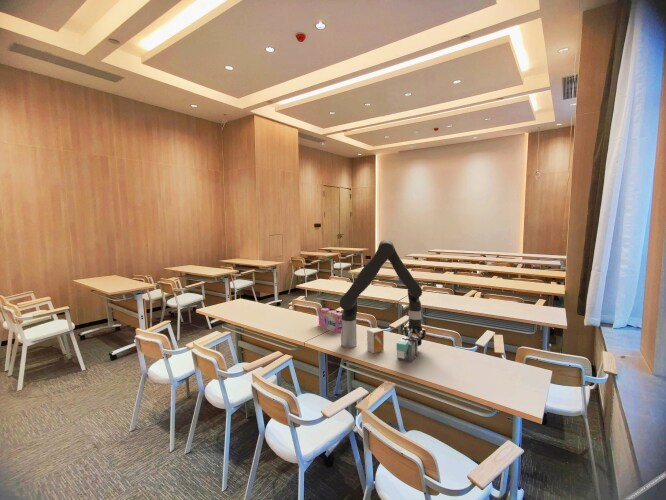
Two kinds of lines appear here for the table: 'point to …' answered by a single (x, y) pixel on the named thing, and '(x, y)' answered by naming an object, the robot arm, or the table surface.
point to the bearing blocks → (411, 349)
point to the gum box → (330, 319)
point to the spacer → (402, 346)
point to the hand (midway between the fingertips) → (415, 344)
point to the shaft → (404, 354)
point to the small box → (375, 340)
